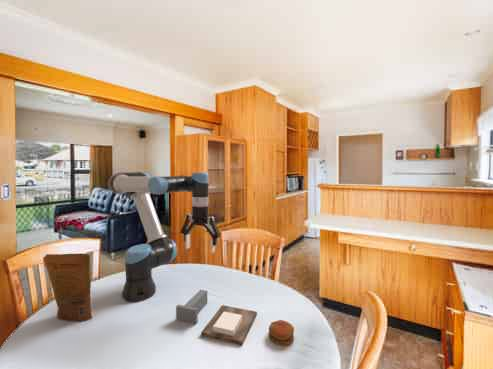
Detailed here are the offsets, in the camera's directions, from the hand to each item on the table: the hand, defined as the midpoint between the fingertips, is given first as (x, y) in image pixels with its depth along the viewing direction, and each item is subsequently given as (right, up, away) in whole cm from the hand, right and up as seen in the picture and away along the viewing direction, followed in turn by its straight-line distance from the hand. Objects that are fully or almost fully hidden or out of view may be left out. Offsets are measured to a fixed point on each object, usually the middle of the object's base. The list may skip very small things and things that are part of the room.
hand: (200, 250), depth 117 cm
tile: (+16, -22, -17) cm, 32 cm away
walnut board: (+16, -25, -19) cm, 35 cm away
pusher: (0, -24, -9) cm, 26 cm away
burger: (+35, -26, -26) cm, 50 cm away
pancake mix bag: (-50, -25, -14) cm, 58 cm away
